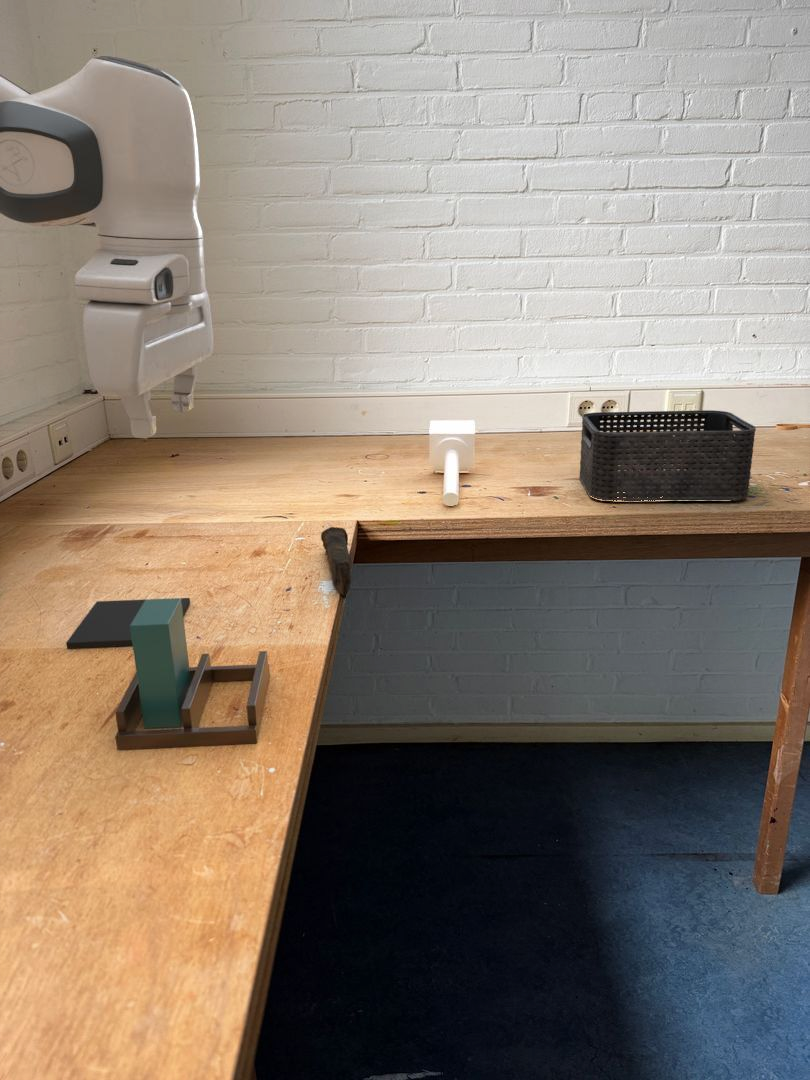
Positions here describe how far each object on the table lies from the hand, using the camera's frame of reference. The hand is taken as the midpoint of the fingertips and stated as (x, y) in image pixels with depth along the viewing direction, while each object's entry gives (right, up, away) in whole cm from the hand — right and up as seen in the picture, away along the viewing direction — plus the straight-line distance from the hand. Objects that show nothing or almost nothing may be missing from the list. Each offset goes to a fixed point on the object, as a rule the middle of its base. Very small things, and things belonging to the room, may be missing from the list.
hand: (164, 422), depth 76 cm
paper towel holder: (+32, 0, +82) cm, 88 cm away
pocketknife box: (-1, -28, +3) cm, 29 cm away
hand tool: (+14, -16, +38) cm, 44 cm away
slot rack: (+2, -28, +4) cm, 29 cm away
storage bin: (+72, -2, +76) cm, 105 cm away
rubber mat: (-11, -22, +23) cm, 33 cm away
